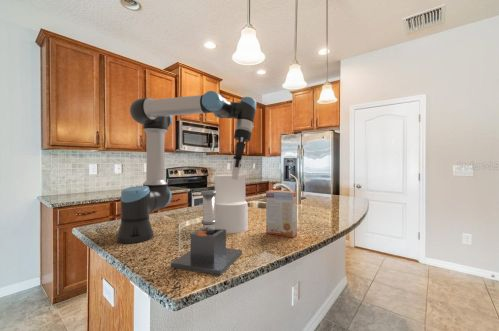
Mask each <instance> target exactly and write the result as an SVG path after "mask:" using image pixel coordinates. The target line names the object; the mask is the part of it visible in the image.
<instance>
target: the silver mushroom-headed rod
mask: <svg viewBox="0 0 499 331" xmlns="http://www.w3.org/2000/svg"><path fill="white" fill-rule="evenodd" d="M200 195H201V196H202V220H201V225H202V228H203V231H207V234H208V235H213V234H215V223H216V220H215V195H216V191H215V190H200Z"/></svg>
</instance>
